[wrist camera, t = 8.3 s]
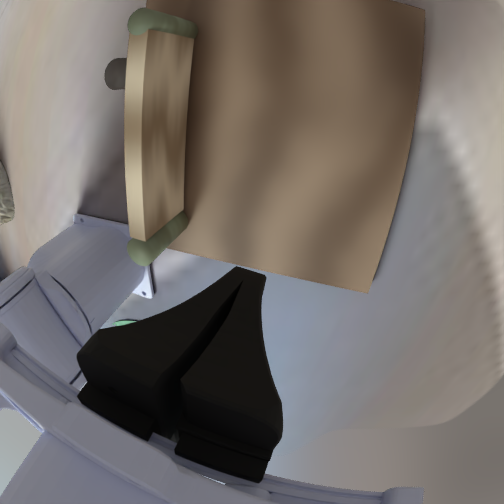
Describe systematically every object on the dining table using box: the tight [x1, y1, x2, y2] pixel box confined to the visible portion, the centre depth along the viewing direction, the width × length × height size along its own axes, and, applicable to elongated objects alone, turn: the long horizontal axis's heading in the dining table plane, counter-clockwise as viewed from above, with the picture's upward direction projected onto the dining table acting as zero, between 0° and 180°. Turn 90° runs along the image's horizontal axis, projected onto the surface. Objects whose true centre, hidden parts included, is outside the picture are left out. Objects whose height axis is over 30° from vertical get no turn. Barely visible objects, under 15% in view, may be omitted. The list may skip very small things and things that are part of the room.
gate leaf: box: [124, 8, 198, 266], centre depth 16 cm, size 16×2×5 cm, turn 174°
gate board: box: [105, 0, 425, 293], centre depth 16 cm, size 18×20×5 cm
